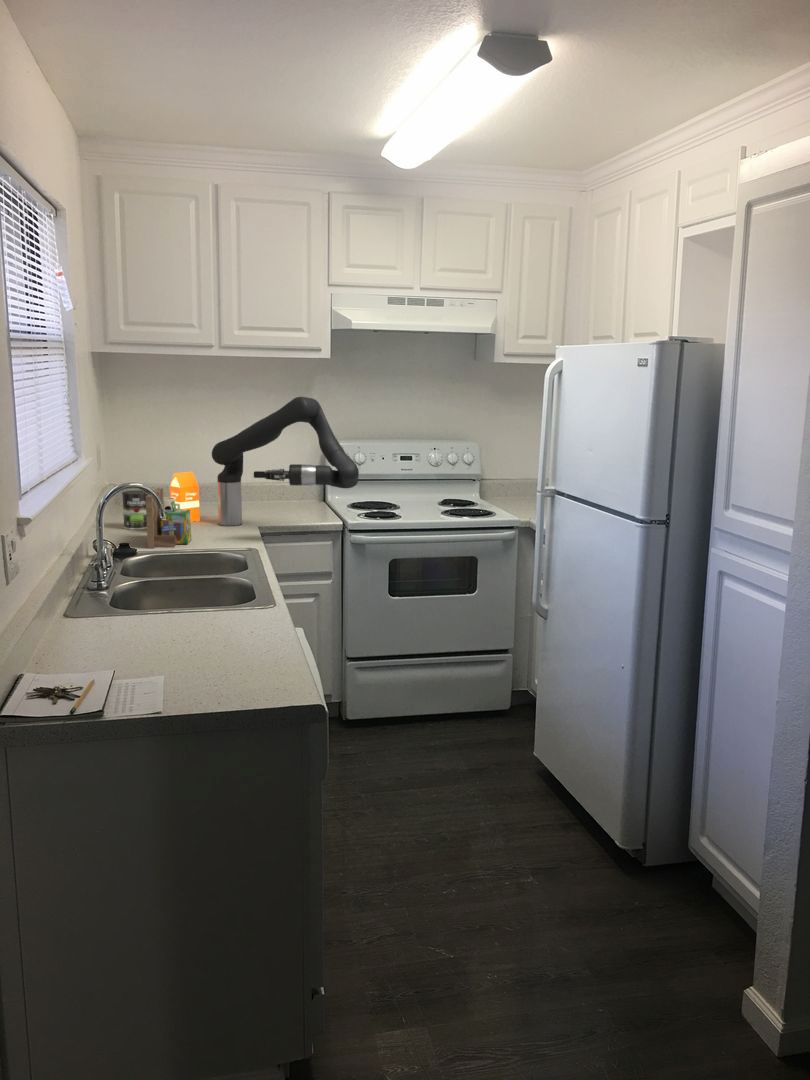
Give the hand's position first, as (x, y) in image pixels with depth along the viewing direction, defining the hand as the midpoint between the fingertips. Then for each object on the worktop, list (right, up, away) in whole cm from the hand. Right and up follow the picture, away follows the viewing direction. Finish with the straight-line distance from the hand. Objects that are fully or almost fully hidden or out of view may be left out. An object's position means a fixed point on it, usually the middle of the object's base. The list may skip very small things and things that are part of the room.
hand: (253, 474), depth 308 cm
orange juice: (-36, -16, +46) cm, 61 cm away
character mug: (-37, -21, +20) cm, 47 cm away
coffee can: (-51, -19, +30) cm, 62 cm away
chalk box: (-28, -24, +1) cm, 37 cm away
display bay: (-31, -24, +1) cm, 40 cm away
